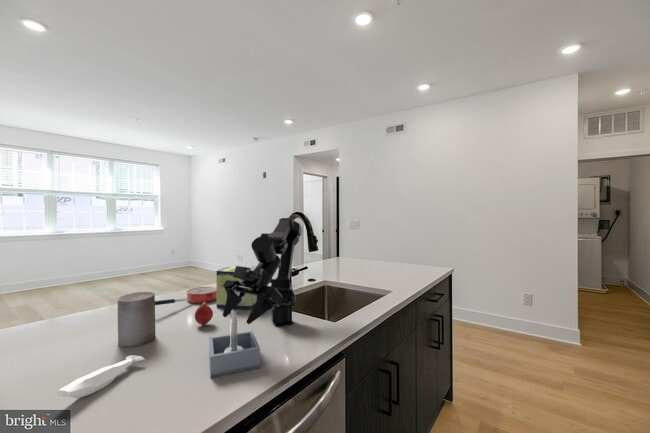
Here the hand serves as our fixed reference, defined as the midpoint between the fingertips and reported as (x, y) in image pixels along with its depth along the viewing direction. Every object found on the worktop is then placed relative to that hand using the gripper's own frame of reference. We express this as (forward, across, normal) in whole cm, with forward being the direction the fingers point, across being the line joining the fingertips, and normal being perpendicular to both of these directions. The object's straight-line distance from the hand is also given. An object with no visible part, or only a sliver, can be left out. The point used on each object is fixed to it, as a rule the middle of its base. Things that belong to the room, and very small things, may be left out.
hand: (235, 319), depth 76 cm
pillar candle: (+13, -35, +2) cm, 38 cm away
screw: (+8, 0, +7) cm, 10 cm away
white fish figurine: (+24, -17, -9) cm, 31 cm away
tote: (+8, 0, +7) cm, 11 cm away
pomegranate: (0, -28, +15) cm, 32 cm away
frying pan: (-7, -54, +23) cm, 59 cm away
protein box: (-15, -36, +31) cm, 50 cm away
